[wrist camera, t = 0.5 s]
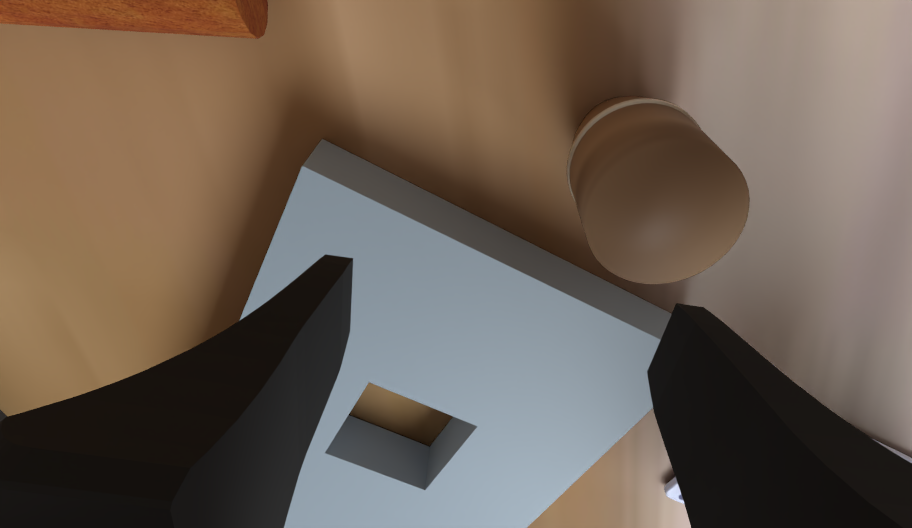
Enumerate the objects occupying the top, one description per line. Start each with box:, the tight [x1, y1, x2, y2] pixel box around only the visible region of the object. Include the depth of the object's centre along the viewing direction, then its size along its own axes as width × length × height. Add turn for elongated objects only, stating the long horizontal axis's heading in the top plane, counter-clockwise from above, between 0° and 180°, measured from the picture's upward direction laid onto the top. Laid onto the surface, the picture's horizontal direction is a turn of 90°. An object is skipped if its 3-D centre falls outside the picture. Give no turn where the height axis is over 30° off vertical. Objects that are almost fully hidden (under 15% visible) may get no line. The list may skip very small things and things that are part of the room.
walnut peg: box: [567, 96, 750, 284], centre depth 17 cm, size 4×4×6 cm
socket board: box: [239, 139, 672, 528], centre depth 25 cm, size 16×20×2 cm
